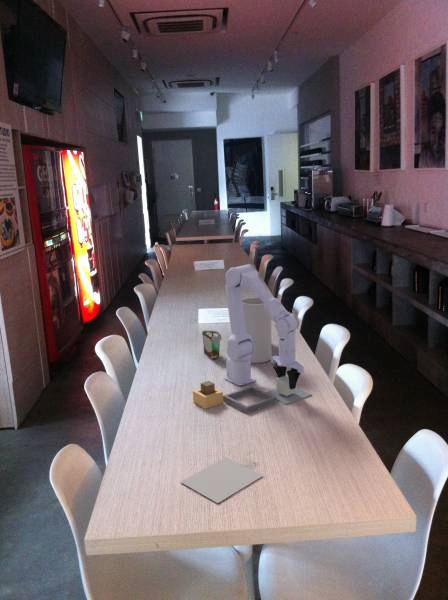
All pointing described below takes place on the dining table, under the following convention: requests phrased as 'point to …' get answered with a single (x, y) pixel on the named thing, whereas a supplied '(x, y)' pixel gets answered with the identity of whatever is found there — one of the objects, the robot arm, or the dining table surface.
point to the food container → (211, 344)
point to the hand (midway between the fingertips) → (287, 386)
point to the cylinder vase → (258, 328)
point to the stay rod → (207, 388)
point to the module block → (284, 386)
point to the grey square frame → (268, 401)
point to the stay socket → (208, 398)
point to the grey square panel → (221, 479)
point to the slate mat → (289, 396)
